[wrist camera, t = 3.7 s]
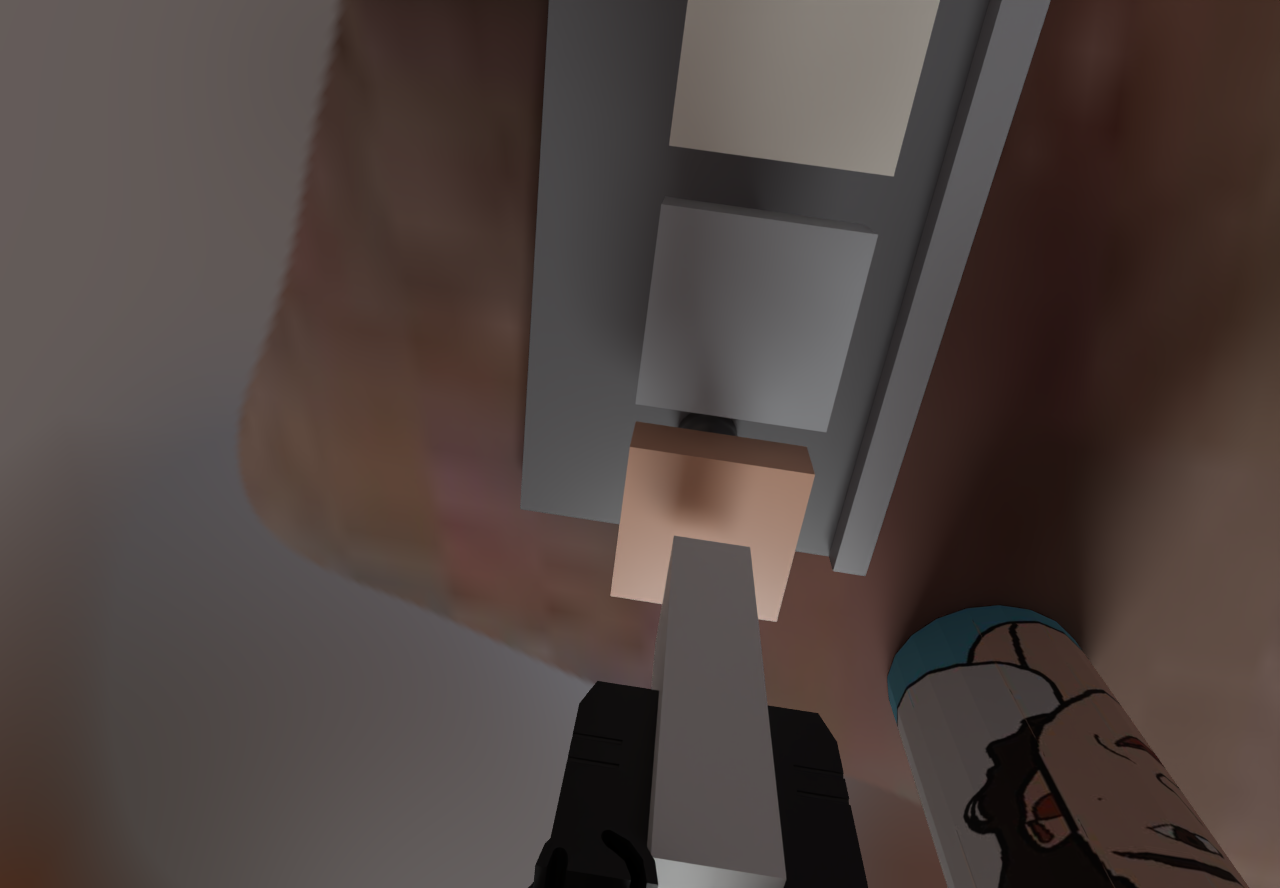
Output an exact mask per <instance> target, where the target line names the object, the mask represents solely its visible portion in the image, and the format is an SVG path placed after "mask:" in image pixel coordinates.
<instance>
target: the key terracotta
mask: <svg viewBox="0 0 1280 888" xmlns="http://www.w3.org/2000/svg"><path fill="white" fill-rule="evenodd" d="M814 477H815V472H814V469H813V466H812V463H811V459H810V456H809V453H808V449H807V447H805V446H799V445H792V444H785V443H778V442H772V441H765V440H758V439H751V438H745V437H738V436H731V435H725V434H718V433H711V432H704V431H698V430H691V429H684V428H678V427H671V426H664V425H657V424H651V423H644V422H637V421H636V423H635V427H634V431H633V435H632V440H631V444H630V449H629V457H628V465H627V472H626V480H625V488H624V495H623V503H622V511H621V518H620V526H619V534H618V542H617V549H616V557H615V565H614V572H613V580H612V588H611V595H610V596H614V597H620V598H627V599H633V600H639V601H646V602H652V603H659V604H662V603H663V597H664V591H665V585H666V579H667V573H668V567H669V562H670V556H671V550H672V544H673V538H674V536H680V537H687V538H693V539H700V540H707V541H713V542H720V543H727V544H733V545H740V546H747V547H750V550H751V559H752V568H753V577H754V586H755V596H756V605H757V614H758V619H761V620H768V621H774V622H777V618H778V614H779V610H780V606H781V603H782V599H783V595H784V591H785V587H786V584H787V580H788V576H789V572H790V568H791V565H792V561H793V557H794V553H795V549H796V546H797V542H798V538H799V534H800V530H801V527H802V523H803V519H804V515H805V511H806V508H807V504H808V500H809V496H810V492H811V489H812V485H813V481H814Z"/></svg>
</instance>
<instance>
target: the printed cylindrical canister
mask: <svg viewBox="0 0 1280 888" xmlns="http://www.w3.org/2000/svg"><path fill="white" fill-rule="evenodd" d="M887 680H888V694H889V701H890V704H891V707H892V710H893V714H894V717H895V720H896V723H897V727H898V730H899V733H900V736H901V739H902V743H903V746H904V749H905V752H906V755H907V759H908V762H909V765H910V768H911V771H912V775H913V778H914V781H915V784H916V787H917V791H918V794H919V797H920V800H921V803H922V807H923V810H924V813H925V816H926V819H927V823H928V826H929V829H930V832H931V835H932V839H933V842H934V845H935V848H936V851H937V854H938V858H939V861H940V864H941V867H942V870H943V874H944V877H945V880H946V883H947V886H948V888H1249V887H1248V885H1247V884H1246V883H1245V881H1244V880H1243V878H1242V877H1241V875H1240V874H1239V873H1238V871H1237V870H1236V868H1235V867H1234V865H1233V864H1232V863H1231V861H1230V860H1229V858H1228V857H1227V856H1226V854H1225V853H1224V851H1223V850H1222V848H1221V847H1220V846H1219V844H1218V843H1217V841H1216V840H1215V838H1214V837H1213V836H1212V834H1211V833H1210V831H1209V830H1208V829H1207V827H1206V826H1205V824H1204V823H1203V821H1202V820H1201V819H1200V817H1199V816H1198V814H1197V813H1196V811H1195V810H1194V809H1193V807H1192V806H1191V804H1190V803H1189V802H1188V800H1187V799H1186V797H1185V796H1184V794H1183V793H1182V792H1181V790H1180V789H1179V787H1178V786H1177V784H1176V783H1175V782H1174V780H1173V779H1172V777H1171V776H1170V775H1169V773H1168V772H1167V770H1166V769H1165V767H1164V766H1163V765H1162V763H1161V762H1160V760H1159V759H1158V757H1157V756H1156V755H1155V753H1154V752H1153V750H1152V749H1151V748H1150V746H1149V745H1148V743H1147V742H1146V740H1145V739H1144V738H1143V736H1142V735H1141V733H1140V732H1139V731H1138V729H1137V728H1136V726H1135V725H1134V723H1133V722H1132V721H1131V719H1130V718H1129V716H1128V715H1127V713H1126V712H1125V711H1124V709H1123V708H1122V706H1121V705H1120V704H1119V702H1118V701H1117V699H1116V698H1115V696H1114V695H1113V694H1112V692H1111V691H1110V689H1109V688H1108V686H1107V685H1106V684H1105V682H1104V681H1103V679H1102V678H1101V677H1100V675H1099V674H1098V672H1097V671H1096V669H1095V668H1094V667H1093V665H1092V664H1091V662H1090V661H1089V659H1088V658H1087V657H1086V655H1085V654H1084V652H1083V651H1082V650H1081V648H1080V647H1079V645H1078V644H1077V642H1076V641H1075V640H1074V639H1073V638H1072V637H1071V636H1070V635H1069V634H1068V633H1067V632H1066V631H1065V630H1064V629H1063V628H1062V627H1061V626H1060V625H1059V624H1058V623H1057V622H1056V621H1054V620H1052V619H1049V618H1047V617H1045V616H1043V615H1041V614H1038V613H1036V612H1034V611H1032V610H1029V609H1022V608H1015V607H1008V606H1002V605H996V606H986V607H975V608H966V609H964V610H961V611H958V612H955V613H952V614H949V615H946V616H943V617H940V618H938V619H936V620H934V621H933V622H931V623H930V624H928V625H927V626H925V627H924V628H922V629H921V630H919V631H918V632H916V633H915V634H913V635H912V636H911V637H910V638H909V639H908V641H907V642H906V643H905V644H904V645H903V647H902V648H901V649H900V650H899V651H898V653H897V654H896V655H895V657H894V660H893V663H892V666H891V668H890V671H889V674H888V677H887Z"/></svg>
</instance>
